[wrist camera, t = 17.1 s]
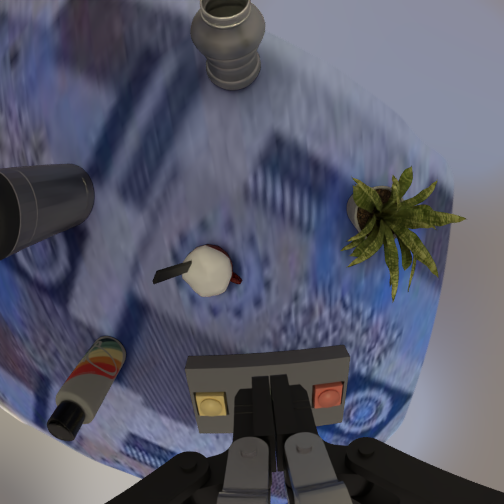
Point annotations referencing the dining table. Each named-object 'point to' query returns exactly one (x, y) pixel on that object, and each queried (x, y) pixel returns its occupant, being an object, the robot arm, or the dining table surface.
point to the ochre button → (211, 403)
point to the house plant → (393, 224)
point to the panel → (265, 364)
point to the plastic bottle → (229, 41)
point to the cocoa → (203, 271)
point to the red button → (327, 394)
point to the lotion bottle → (86, 388)
